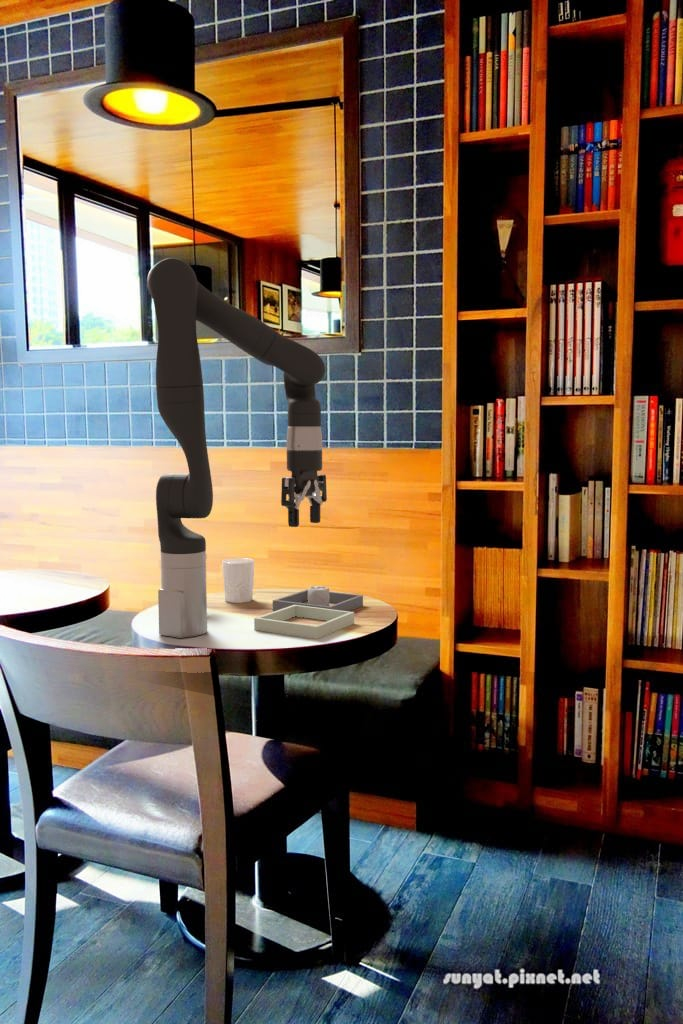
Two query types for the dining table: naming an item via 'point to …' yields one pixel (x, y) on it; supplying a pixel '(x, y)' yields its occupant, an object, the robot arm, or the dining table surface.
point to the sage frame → (278, 625)
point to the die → (318, 595)
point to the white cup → (238, 579)
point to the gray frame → (342, 599)
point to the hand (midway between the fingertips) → (304, 524)
